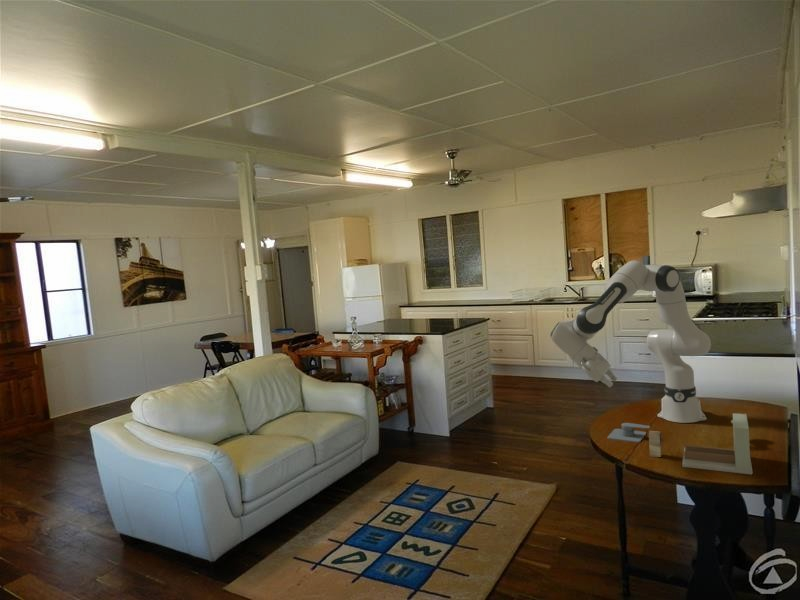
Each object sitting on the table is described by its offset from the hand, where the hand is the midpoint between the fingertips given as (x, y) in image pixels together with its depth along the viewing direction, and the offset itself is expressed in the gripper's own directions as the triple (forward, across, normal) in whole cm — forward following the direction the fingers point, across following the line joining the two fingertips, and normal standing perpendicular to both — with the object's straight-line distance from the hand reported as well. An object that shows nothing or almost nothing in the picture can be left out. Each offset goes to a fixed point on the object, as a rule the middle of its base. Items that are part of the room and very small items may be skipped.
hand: (613, 382), depth 196 cm
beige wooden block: (+28, -1, +9) cm, 29 cm away
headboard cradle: (+41, -1, -4) cm, 41 cm away
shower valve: (+21, +17, +17) cm, 32 cm away
